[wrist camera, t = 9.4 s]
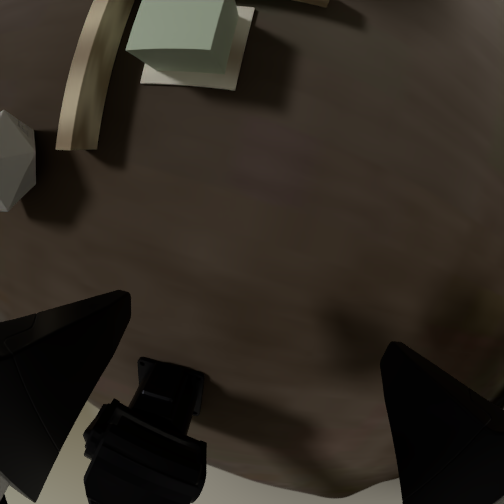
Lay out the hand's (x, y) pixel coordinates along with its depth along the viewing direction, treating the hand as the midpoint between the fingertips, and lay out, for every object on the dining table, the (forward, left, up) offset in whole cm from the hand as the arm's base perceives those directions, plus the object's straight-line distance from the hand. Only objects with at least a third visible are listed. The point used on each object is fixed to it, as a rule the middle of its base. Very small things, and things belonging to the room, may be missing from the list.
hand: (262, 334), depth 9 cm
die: (+3, +23, -12) cm, 26 cm away
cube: (+13, +7, -12) cm, 19 cm away
